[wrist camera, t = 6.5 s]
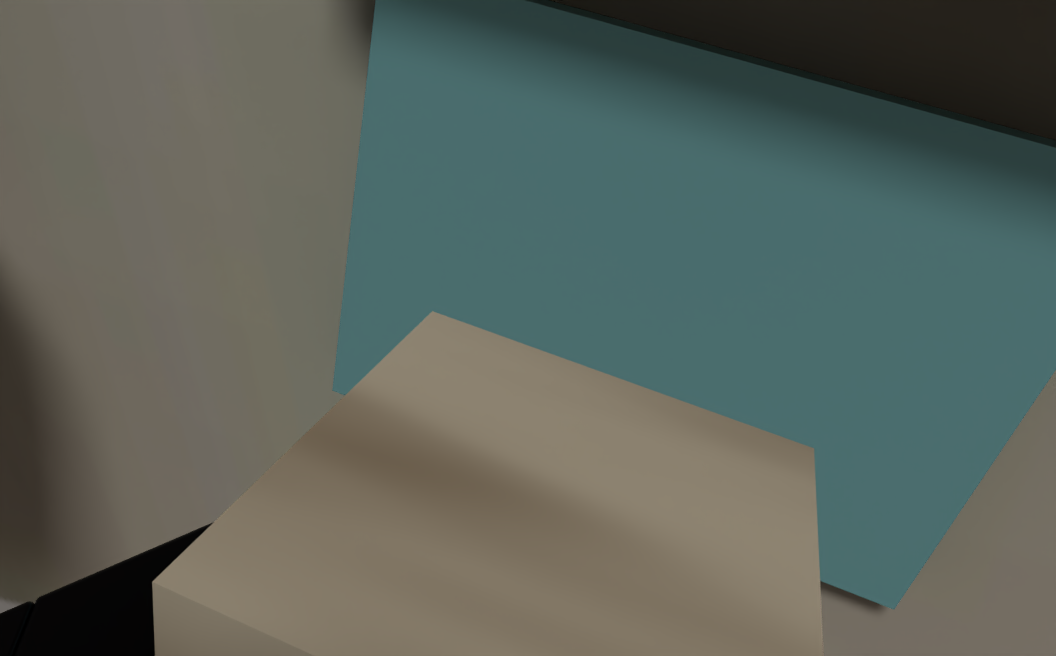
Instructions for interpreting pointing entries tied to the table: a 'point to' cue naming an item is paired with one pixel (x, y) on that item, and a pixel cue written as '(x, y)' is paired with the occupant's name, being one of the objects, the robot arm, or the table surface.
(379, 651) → the maple cube
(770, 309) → the display plate
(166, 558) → the robot arm
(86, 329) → the table surface
